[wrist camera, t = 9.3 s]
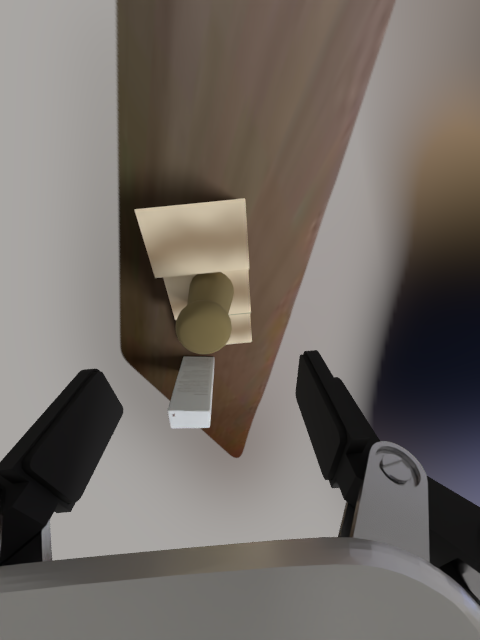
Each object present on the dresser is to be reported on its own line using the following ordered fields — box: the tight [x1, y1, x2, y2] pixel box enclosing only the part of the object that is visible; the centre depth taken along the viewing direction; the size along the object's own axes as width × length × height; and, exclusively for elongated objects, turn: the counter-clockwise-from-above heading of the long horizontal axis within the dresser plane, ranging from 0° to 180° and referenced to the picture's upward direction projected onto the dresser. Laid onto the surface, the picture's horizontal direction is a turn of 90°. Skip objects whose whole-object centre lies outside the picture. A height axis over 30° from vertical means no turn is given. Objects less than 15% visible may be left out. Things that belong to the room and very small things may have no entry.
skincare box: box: [168, 356, 214, 428], centre depth 34 cm, size 6×4×12 cm
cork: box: [175, 272, 234, 354], centre depth 22 cm, size 6×6×11 cm
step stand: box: [134, 198, 252, 344], centre depth 28 cm, size 21×11×8 cm, turn 5°
